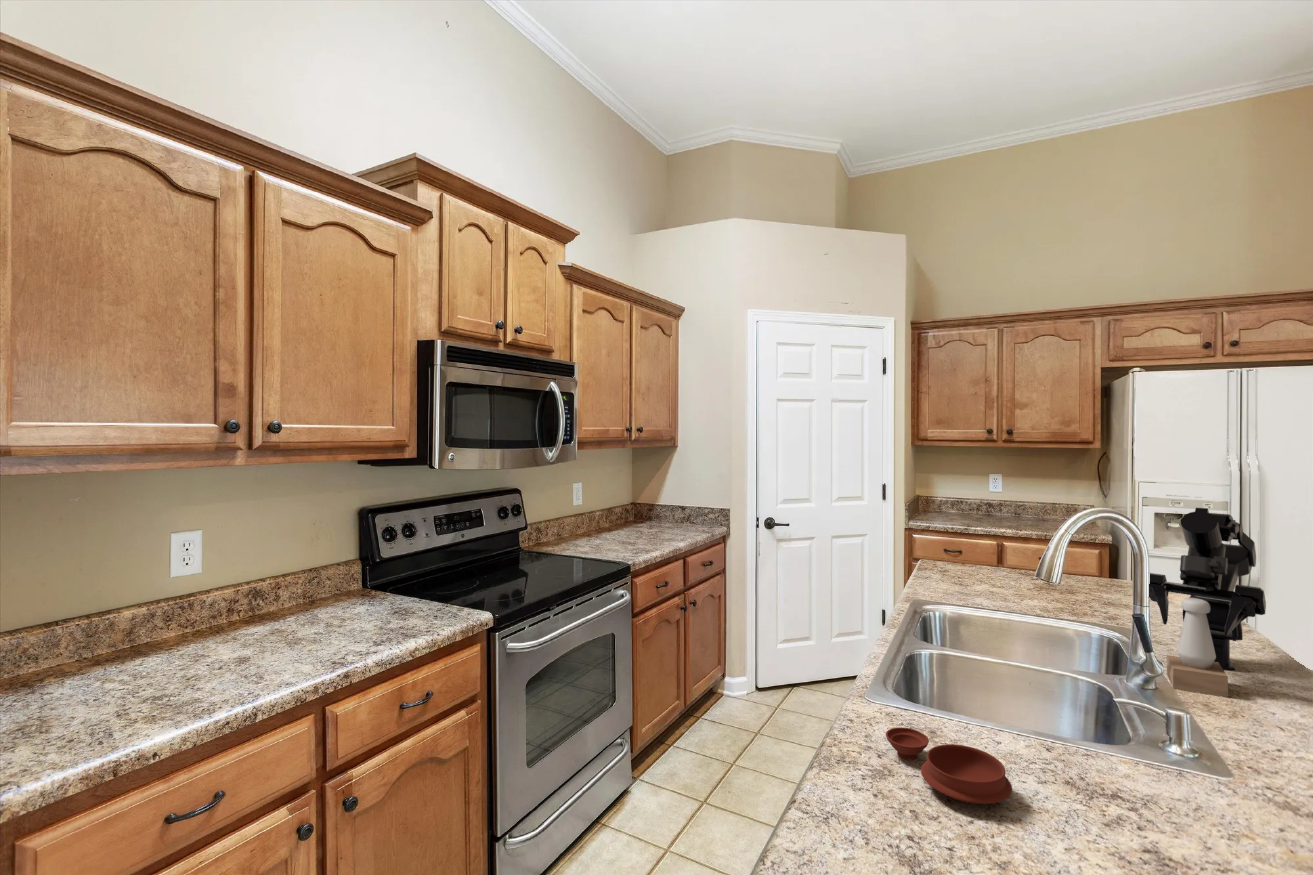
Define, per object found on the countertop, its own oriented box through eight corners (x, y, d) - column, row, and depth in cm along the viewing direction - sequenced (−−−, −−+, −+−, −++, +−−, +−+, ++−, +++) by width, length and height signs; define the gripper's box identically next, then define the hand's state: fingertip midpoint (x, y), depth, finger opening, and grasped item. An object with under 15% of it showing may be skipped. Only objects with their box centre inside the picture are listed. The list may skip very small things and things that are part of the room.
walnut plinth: (1166, 674, 128) (1166, 655, 128) (1218, 682, 124) (1218, 662, 124) (1173, 688, 122) (1173, 668, 122) (1228, 697, 117) (1227, 676, 117)
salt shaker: (1207, 661, 125) (1207, 596, 124) (1221, 672, 119) (1221, 604, 119) (1171, 658, 127) (1171, 594, 126) (1183, 668, 121) (1183, 602, 121)
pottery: (971, 827, 82) (970, 794, 82) (864, 754, 100) (864, 727, 100) (1031, 804, 87) (1031, 772, 87) (919, 738, 105) (918, 712, 105)
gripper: (1141, 534, 132) (1127, 596, 125) (1264, 545, 118) (1256, 616, 111) (1150, 565, 137) (1138, 626, 130) (1269, 579, 123) (1262, 649, 116)
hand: (1194, 628), depth 122 cm, fingers open, 9 cm apart
